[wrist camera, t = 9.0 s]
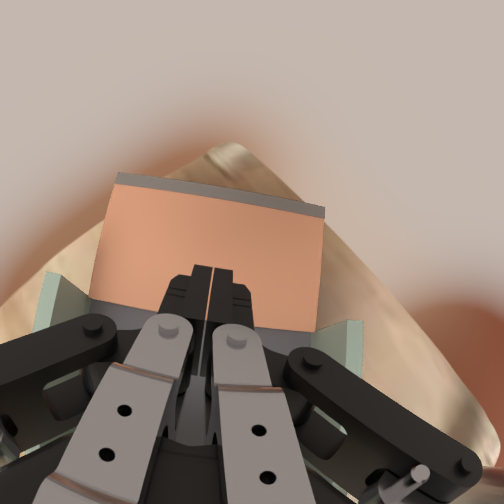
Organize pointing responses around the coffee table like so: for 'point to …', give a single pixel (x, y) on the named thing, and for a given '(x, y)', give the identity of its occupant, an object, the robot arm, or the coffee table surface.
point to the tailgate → (210, 246)
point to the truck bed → (192, 420)
